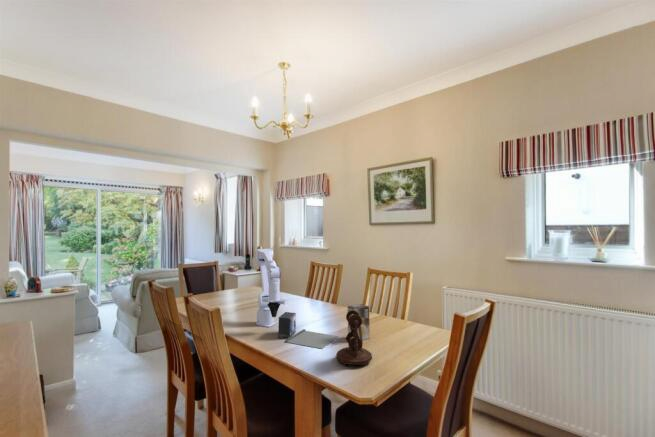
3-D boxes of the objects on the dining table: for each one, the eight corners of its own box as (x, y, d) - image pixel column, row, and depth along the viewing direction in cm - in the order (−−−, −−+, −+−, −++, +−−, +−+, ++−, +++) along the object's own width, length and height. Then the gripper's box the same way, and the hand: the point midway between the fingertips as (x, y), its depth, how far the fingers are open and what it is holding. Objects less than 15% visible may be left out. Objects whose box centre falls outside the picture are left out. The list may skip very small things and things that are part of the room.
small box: (290, 339, 155) (290, 318, 155) (277, 338, 156) (277, 317, 157) (296, 332, 165) (296, 312, 166) (284, 331, 167) (284, 311, 167)
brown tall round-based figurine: (375, 367, 123) (375, 316, 124) (338, 369, 122) (338, 317, 123) (367, 352, 138) (367, 307, 138) (334, 353, 137) (334, 308, 137)
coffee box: (362, 335, 161) (362, 303, 161) (369, 338, 155) (369, 306, 155) (347, 338, 156) (347, 305, 157) (354, 342, 151) (354, 308, 151)
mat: (285, 342, 151) (285, 340, 151) (303, 331, 167) (303, 329, 167) (322, 349, 142) (322, 346, 142) (337, 336, 158) (337, 334, 158)
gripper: (258, 291, 164) (258, 316, 164) (281, 293, 158) (281, 320, 158) (266, 288, 171) (266, 313, 170) (288, 290, 165) (288, 316, 164)
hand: (274, 316), depth 165 cm, fingers closed
